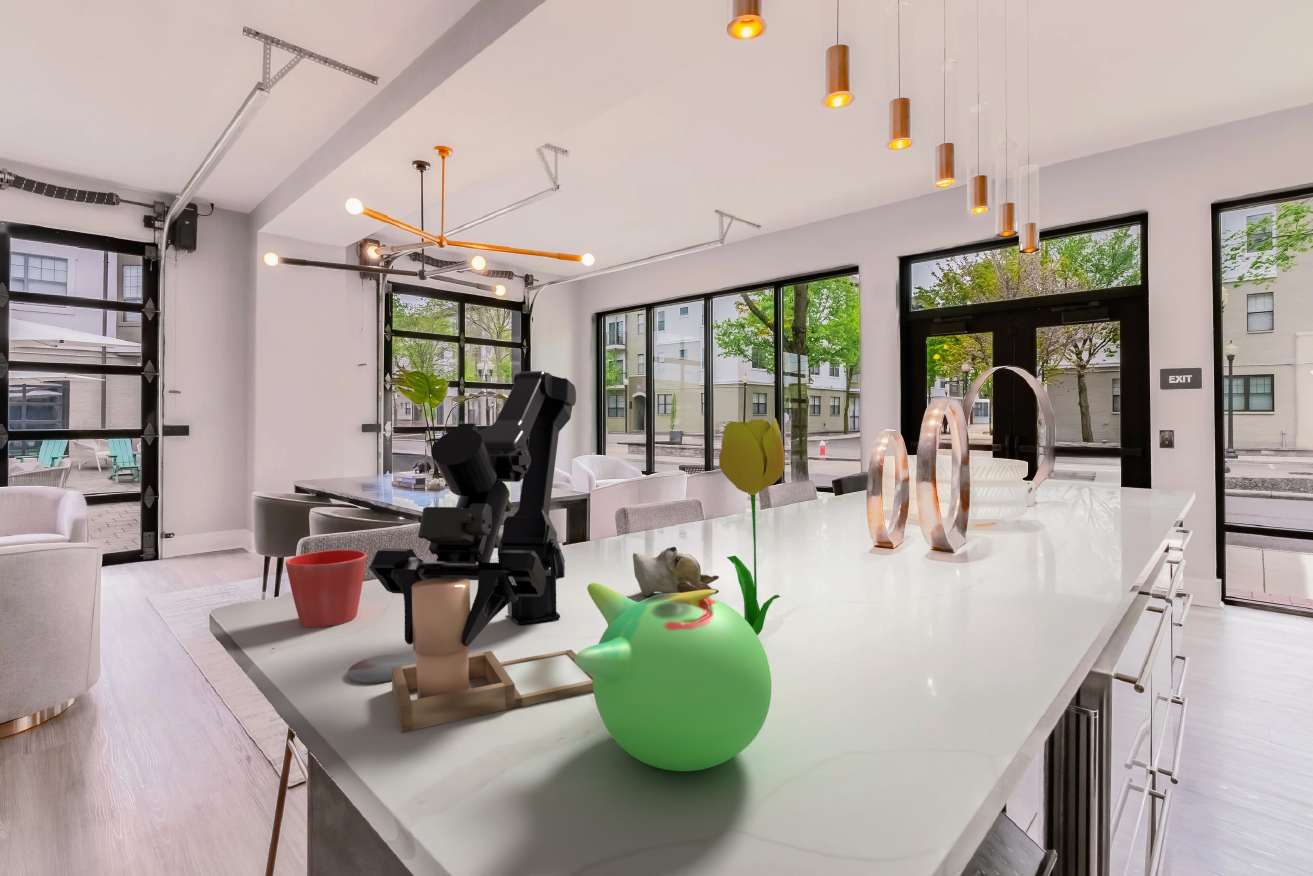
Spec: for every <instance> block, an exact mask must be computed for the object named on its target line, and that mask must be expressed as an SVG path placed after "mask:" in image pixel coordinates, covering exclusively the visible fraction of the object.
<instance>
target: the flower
mask: <svg viewBox="0 0 1313 876" xmlns="http://www.w3.org/2000/svg"><path fill="white" fill-rule="evenodd" d="M718 458H719V459H718V463H719V464H718V466H719V467H720V470H721V472H722V473H723V475H724V476H725V478H727V480H728V481H730V482H731V484H733V485H734V487H735V488H737V490H739V491H741V492H743V493H746V494H748V495H750V503H751V516H752V519H751V520H752V534H753V535H752V536H753V577H752V573H751V571H750V570H749V569H748V568H747V566H746V565H745V564H744V563H743V561H742V560H741V559H740V558H738V556H736V555H731V556H726V558H727V559H728V560H729V561H730V562H731V563H732V564H733V565H734V567H735V571H736V575H737V580H738V583H739V586H740V589H741V593H742V598H743V611H744V614H743V615H744V616H743V618H744V619H745V620H746V621H747V622H748V623H749V624H750V626H751V627H752V628H753V630H754V631H755V633H756V635H757V636H758V635H759V634H760V633H761V632H762V630H763V627H764V623H765V620H766V615H767V611H768V610H769V607H770V606H771V604H772V603H773V601H774V600H777V599H778V598H781V596H780V595H779V594H775V595H773V596H771V597H770V598H769V599H767V600H766V601H765V602H763V604H762V605H761V608H760V605H759V602H758V599H757V598H758V597H757V596H758V590H757V589H758V587H757V585H758V583H757V580H758V579H757V544H756V543H757V542H756V541H757V540H756V539H757V538H756V534H757V532H756V529H757V528H756V495H757V494H759V492H762V491H764V490H765V489H767V488H769V487H770V486H772V485H774V484H775V483H776V482H777V481H778V480H779V479H781V477H782V475H783V473H784V470H785V460H786V459H785V449H784V444H783V437H782V432H781V430H780V426H779V424H778V420H777V418H776V417H775V418H774V419H773V420H772V421H771V423H769V421H767V420H766V421H765V420H764V419H758V418H757V419H750V420H749V421H748V422H746V421H731V422H729V423H727V424H726V425H725V427H724V431H723V435H722V439H721V450H720V452H719V456H718Z"/></svg>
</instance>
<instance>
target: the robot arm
mask: <svg viewBox="0 0 1313 876" xmlns="http://www.w3.org/2000/svg"><path fill="white" fill-rule="evenodd" d="M576 401H577V389H576V387H575V384H573V383H572V381H570V380H569V379H568V378H567V377H563V378H562V377H561V376H560V377H559V376H555V375H552V374H551V373H549V372H545V370H541V371H540V370H539V371H538V370H537V371H520V372H516V374H515V375H514V379H513V386H512V389H511V390H510V392H509V394H508V396H507V398H506V399H505V402H504V403H503V406H502V407H501V410H500V412H499V413H498V416H497V417H496V419H495V421H494V423H493V424H492V425H489V426H487V427H485V428H483V429H481V430H480V431H479V429H478V426H477V425H476V423H473V422H472V423H471V422H469V423H467V422H466V423H465V422H464V423H461V422H460V423H458V425H457V427H456V429H454V430H451V431H449V432H447V433H445V434H444V435H442V436H440V437H439V438H438V440H436V441H434V442H433V444H432V446H431V450H430V454H431V457H432V460H433V461H434V463H435V465H436V467H437V469H438V470H439V472H440V474H441V476H442V478H443V480H444V482H445V484H446V486H447V488H448V489H449V491H450V493H452V494H454V495H455V496H458V499H457V500H458V501H457V503H456V504H455V505H456V506H455V507H453V506H451V507H450V506H426V507H423V508H422V513H421V514H422V515H421V520H420V523H419V524H420V525H419V528H418V529H419V530H418V534H417V538H419V539H424V540H426V541H428V542H430V544H429V546H428V550H429V552H430V553H431V554H432V555H436V556H437V557H436V560H422V559H421V558H419V557H418V556H417V554H416V553H415V552H414V549H412V548H394V547H393V548H387V547H386V548H385V547H384V548H381V549H378V550H377V551H375V553H374V555H373V556H372V559H371V562H370V563H369V566H368V568H369V570H370V571H371V572H372V573H373V575H374V576H375V578H376V579H377V580H378V581H379V583H381V585H382V586H383V588H384V589H385V590H386V591H387V592H389V593H391V594H401V595H402V594H403V600H404V603H403V604H404V642H406V645H408V646H409V645H413V624H412V585H413V584H415V583H417V582H419V581H423V580H427V579H432V578H440V577H461V578H466V579H468V580H470V581H477V591H476V595H475V597H474V600H473V603H472V605H471V607H470V614H469V617H468V620H467V622H466V625H465V628H464V633H463V637H462V644H463V645H464V646H468V647H469V646H470V645H471V643H473V642H474V640H475V639H476V638H477V637H478V636H479V634H480V633H481V632H482V631H483V630H484V629H485V627H486V626H488V624H489V623H490V622H491V621H492V620H493V619H494V618H495V617H496V616H497V615H498V614H499V613H500V612H501V611H502V610H503V609H504V608H505V607H506V606H507V614H508V615H509V616H510V617H511V618H512V620H513V621H514V623H516V624H517V625H525V624H533V623H539V622H544V621H545V622H546V621H553V620H559V619H560V618H561V614H560V613H558V611H557V580H558V579H559V580H560V579H562V578H563V579H564V578H565V573H566V571H565V569H566V566H565V561H566V560H565V558H564V555H563V553H562V550H561V549H562V548H561V547H560V544H559V541H558V533H557V531H556V529H555V527H554V524H553V523H552V520H551V518H550V508H551V499H552V493H553V485H554V483H553V482H554V477H555V469H556V458H557V451H558V444H559V434H560V432H561V430H562V429H563V428H564V427H565V426H566V424H567V423H568V422H570V419H571V416H572V413H573V412H572V410H573V406H575V405H576ZM527 440H528V441H527ZM518 482H522V483H521V490H520V496H519V503H518V508H517V510H516V512H515V513H514V514H513V515H510V516H508V515H507V516H506V518H505V519H504V515H505V512H506V513H509V512H511V510H512V509H511V508H512V506H511V502H510V499H509V498H510V494H511V493H510V491H509V488H508V486H507V485H506V483H518ZM503 519H504V521H503ZM502 522H503V528H502V536H501V538H500V537H499V533H500V529H501V526H502ZM494 549H497V557H498V560H497V562H491V560H492V556H493V553H494Z"/></svg>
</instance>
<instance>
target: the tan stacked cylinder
mask: <svg viewBox="0 0 1313 876" xmlns="http://www.w3.org/2000/svg"><path fill="white" fill-rule="evenodd" d="M470 611H471V580H468V579H466V578H461V577H440V578H432V579H427V580H423V581H419V582H417V583H415V584H413V585H412V624H413V643H412V650H413V652H415V653H416V654H415V655H416V656H415V658H416V668H417V689H416V699H420V698H426V697H431V696H436V695H441V694H446V693H451V692H456V691H461V690H467V689H470V679H469V666H468V655H469V646H464V645H463V644H462V637H463V633H464V628H465V625H466V622H467V620H468V617H469V614H470Z"/></svg>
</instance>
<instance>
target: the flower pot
mask: <svg viewBox="0 0 1313 876" xmlns="http://www.w3.org/2000/svg"><path fill="white" fill-rule="evenodd" d="M367 556H368V555H367V553H366V552H364V551H361V550H355V549H332V550H321V551H314V552H309V553H308V552H307V553H304V554H299V555H296V556H293V557H290V558H289V559H287V560H286V561H285V566H286V573H287V577H288V580H289V584H290V590H291V595H292V599H293V602H294V605H295V608H296V613H297V617H298V619H299V623H300V625H301V626H303V627H307V628H325V627H329V626H337V625H343V624H345V623H348V622H351V621H352V620H354V619H355V618H356V617H357V615H358V609H359V605H360V600H361V594H362V588H363V581H364V577H365V576H364V575H365V570H366V563H367Z"/></svg>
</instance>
